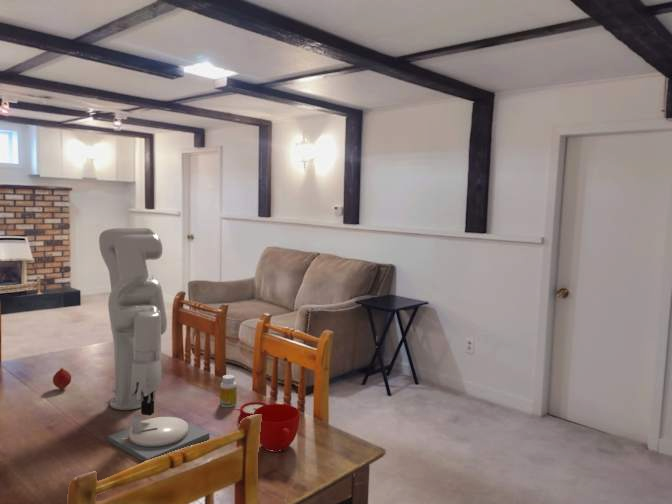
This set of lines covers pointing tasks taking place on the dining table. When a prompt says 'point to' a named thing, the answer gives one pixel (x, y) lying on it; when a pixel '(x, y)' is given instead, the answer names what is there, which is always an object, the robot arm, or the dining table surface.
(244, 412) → the alarm clock
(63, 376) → the onion
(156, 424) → the turntable
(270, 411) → the ceramic cup
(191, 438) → the base plate
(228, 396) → the supplement bottle
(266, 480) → the dining table surface
